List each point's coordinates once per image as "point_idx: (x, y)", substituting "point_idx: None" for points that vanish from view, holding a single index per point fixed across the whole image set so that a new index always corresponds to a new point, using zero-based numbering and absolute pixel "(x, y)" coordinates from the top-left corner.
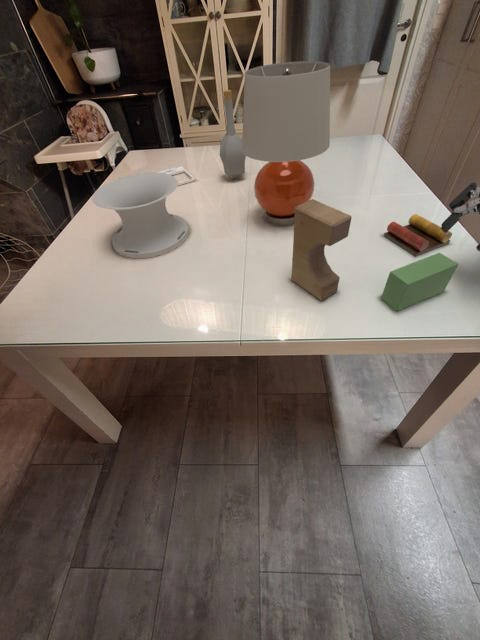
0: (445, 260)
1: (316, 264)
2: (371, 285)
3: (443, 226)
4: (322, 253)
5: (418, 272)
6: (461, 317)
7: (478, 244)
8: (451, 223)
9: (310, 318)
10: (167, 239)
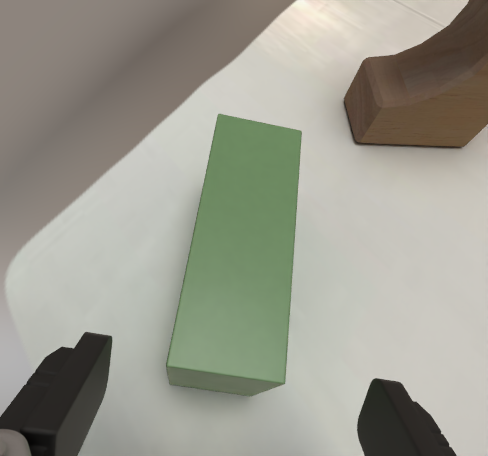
0: (224, 341)
1: (441, 50)
2: (330, 227)
3: (393, 383)
4: (474, 56)
5: (239, 185)
6: (57, 307)
7: (106, 338)
8: (390, 445)
9: (309, 54)
10: None
